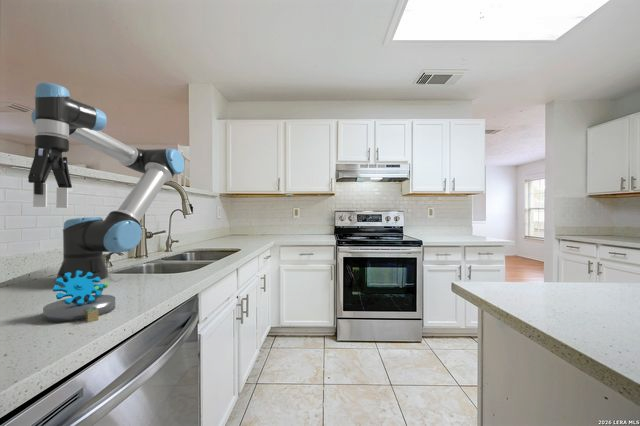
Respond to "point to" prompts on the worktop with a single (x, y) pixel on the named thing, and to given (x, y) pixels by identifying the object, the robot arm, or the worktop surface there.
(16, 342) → the worktop surface
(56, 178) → the robot arm
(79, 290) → the gear
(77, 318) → the dark grey frying pan
